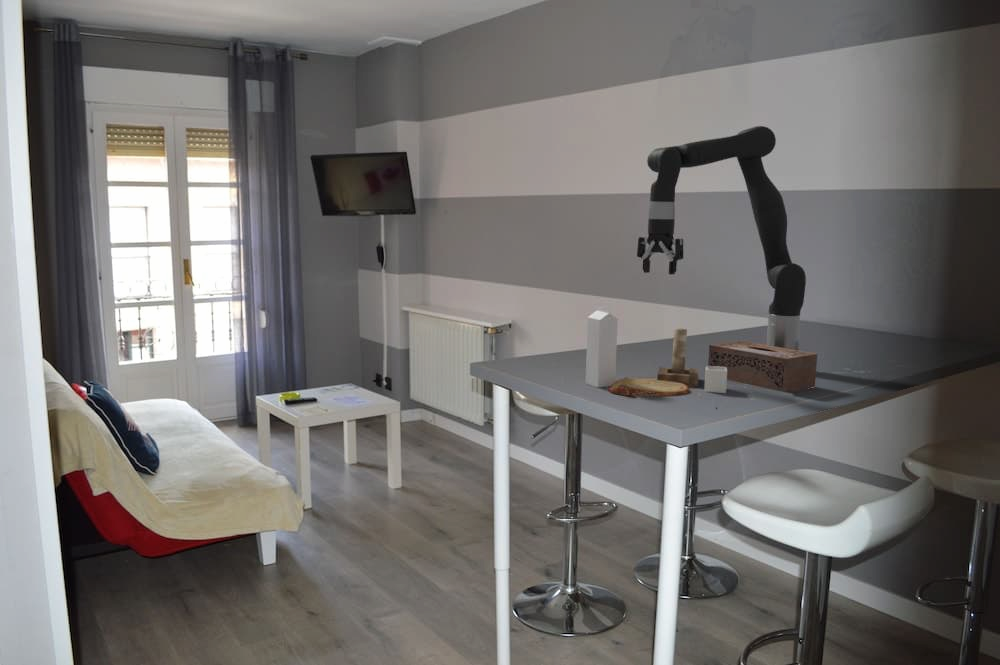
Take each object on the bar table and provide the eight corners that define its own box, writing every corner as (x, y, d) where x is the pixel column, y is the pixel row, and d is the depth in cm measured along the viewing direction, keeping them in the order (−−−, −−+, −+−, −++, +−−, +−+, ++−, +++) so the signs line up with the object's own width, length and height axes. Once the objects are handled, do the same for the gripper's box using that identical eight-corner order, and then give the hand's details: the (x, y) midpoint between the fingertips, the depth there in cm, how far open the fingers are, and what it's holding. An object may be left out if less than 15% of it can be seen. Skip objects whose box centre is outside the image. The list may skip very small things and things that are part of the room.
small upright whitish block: (725, 390, 217) (726, 366, 216) (725, 395, 212) (727, 370, 211) (704, 389, 218) (705, 365, 217) (704, 393, 213) (705, 369, 212)
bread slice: (696, 394, 213) (697, 381, 213) (656, 405, 201) (656, 390, 201) (642, 383, 226) (643, 370, 226) (601, 392, 214) (601, 379, 214)
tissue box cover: (707, 378, 234) (709, 344, 233) (737, 372, 243) (739, 340, 241) (784, 395, 214) (787, 358, 212) (814, 388, 223) (817, 353, 221)
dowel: (683, 380, 226) (687, 328, 224) (683, 383, 223) (687, 330, 221) (671, 380, 227) (674, 328, 225) (671, 382, 224) (674, 329, 221)
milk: (597, 388, 218) (600, 308, 214) (585, 383, 223) (587, 305, 220) (615, 385, 221) (618, 307, 217) (602, 381, 226) (605, 304, 223)
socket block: (697, 380, 229) (697, 368, 228) (697, 389, 218) (698, 376, 218) (658, 378, 232) (659, 366, 231) (657, 386, 221) (657, 374, 220)
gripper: (689, 218, 229) (687, 274, 231) (647, 217, 239) (645, 271, 241) (676, 218, 223) (673, 275, 226) (633, 217, 233) (631, 272, 236)
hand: (658, 273), depth 233 cm, fingers open, 8 cm apart
